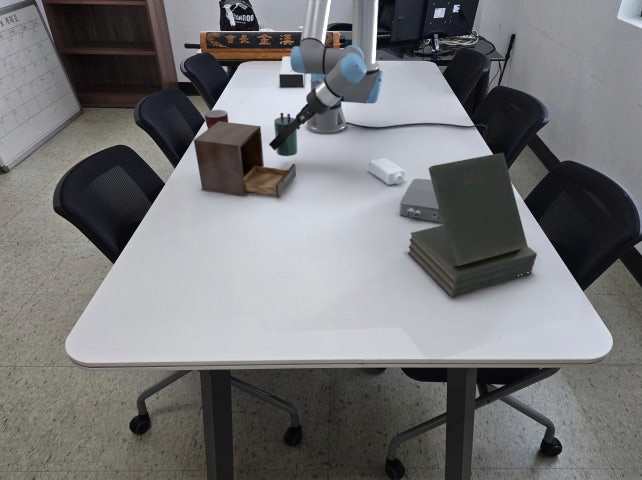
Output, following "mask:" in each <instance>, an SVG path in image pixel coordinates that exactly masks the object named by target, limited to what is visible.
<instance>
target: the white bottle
mask: <svg viewBox="0 0 642 480" xmlns="http://www.w3.org/2000/svg"><path fill="white" fill-rule="evenodd" d="M368 172H370V173H371V174H372V175H374V176H375V177H377V178H378V179H380V180H381V181H383V182H384V183H385V184H386V185H388V186H391V185H400V184H401V183H403V182H404V181H405V175H406V170H405V169H404V168H402V167H401V166H398V165H397V164H395V163H393V162H392V161H390V160H389V159H387V158H385V157H382V158H377V159H371V160H370V161H369V165H368Z"/></svg>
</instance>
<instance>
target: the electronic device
mask: <svg viewBox="0 0 642 480" xmlns="http://www.w3.org/2000/svg"><path fill="white" fill-rule="evenodd" d="M399 215H400V216H403V217H410V218H415V219H420V220H425V221H430V222H435V223H441V224H443V223H442V219H441V215H440V211H439V208H438V204H437V200H436V196H435V192H434V188H433V184H432V180H431V179H426V178H414V179H413V180H412V181H411V182H410V184H409V186H408V188H407V189H406V191H405V193H404V194H403V197H402V199H401V200H400V207H399Z"/></svg>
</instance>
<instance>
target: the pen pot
mask: <svg viewBox="0 0 642 480" xmlns="http://www.w3.org/2000/svg"><path fill="white" fill-rule="evenodd" d="M279 115H280V116H279V117H277V118H275V119H274V120H273V122H274V123H273V124H274V138H275V137H277V136H278V135H279V134H280V130H282V131H283V130H284V129H285V128H286V127H287V126H288V125H289V124H290V123H291V122H292V121H294V120H295V118H294V117H291V113H287V114H286V116H284V112H280V114H279ZM275 153H276V154H277V155H278V156H282V157H291V156H292V157H293V156H294V155H297V154H298V129H296V130H295V131H294V132H293V133H292V134H291V135H290V136H289V137H288V138H287V139H286V140H285V141H284V142H283V143H282V144H281V145H280V146H279V147H278V148H277V149H276V150H275Z"/></svg>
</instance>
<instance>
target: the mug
mask: <svg viewBox="0 0 642 480" xmlns="http://www.w3.org/2000/svg"><path fill="white" fill-rule="evenodd" d="M228 115H229V114H228V111H226V110H223V109H211V110H208V111H205V113H204V119H205V120H204V121H205V124H206V127H207V130H208V129H209V128H211V127H212V126H213V125H215V124H216V123H217V122H219V121H221V122H229V116H228Z"/></svg>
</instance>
